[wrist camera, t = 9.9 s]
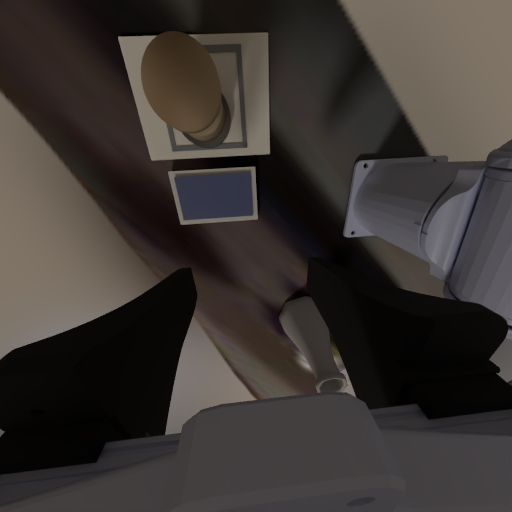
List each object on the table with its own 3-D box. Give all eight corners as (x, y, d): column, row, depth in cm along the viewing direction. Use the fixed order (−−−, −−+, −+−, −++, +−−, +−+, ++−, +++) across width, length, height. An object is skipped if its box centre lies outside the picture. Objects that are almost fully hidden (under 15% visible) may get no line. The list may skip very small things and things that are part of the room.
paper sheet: (267, 34, 14) (268, 31, 14) (269, 154, 18) (270, 153, 17) (120, 39, 14) (117, 35, 13) (152, 160, 17) (150, 160, 17)
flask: (278, 296, 25) (299, 367, 16) (329, 292, 26) (376, 360, 17) (277, 333, 29) (293, 409, 20) (322, 329, 29) (359, 403, 20)
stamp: (227, 84, 15) (216, 22, 9) (233, 146, 17) (228, 132, 11) (172, 87, 15) (122, 27, 9) (185, 150, 17) (151, 137, 10)
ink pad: (254, 166, 18) (255, 166, 17) (257, 216, 20) (258, 220, 19) (171, 171, 18) (166, 171, 17) (183, 222, 20) (179, 225, 19)
